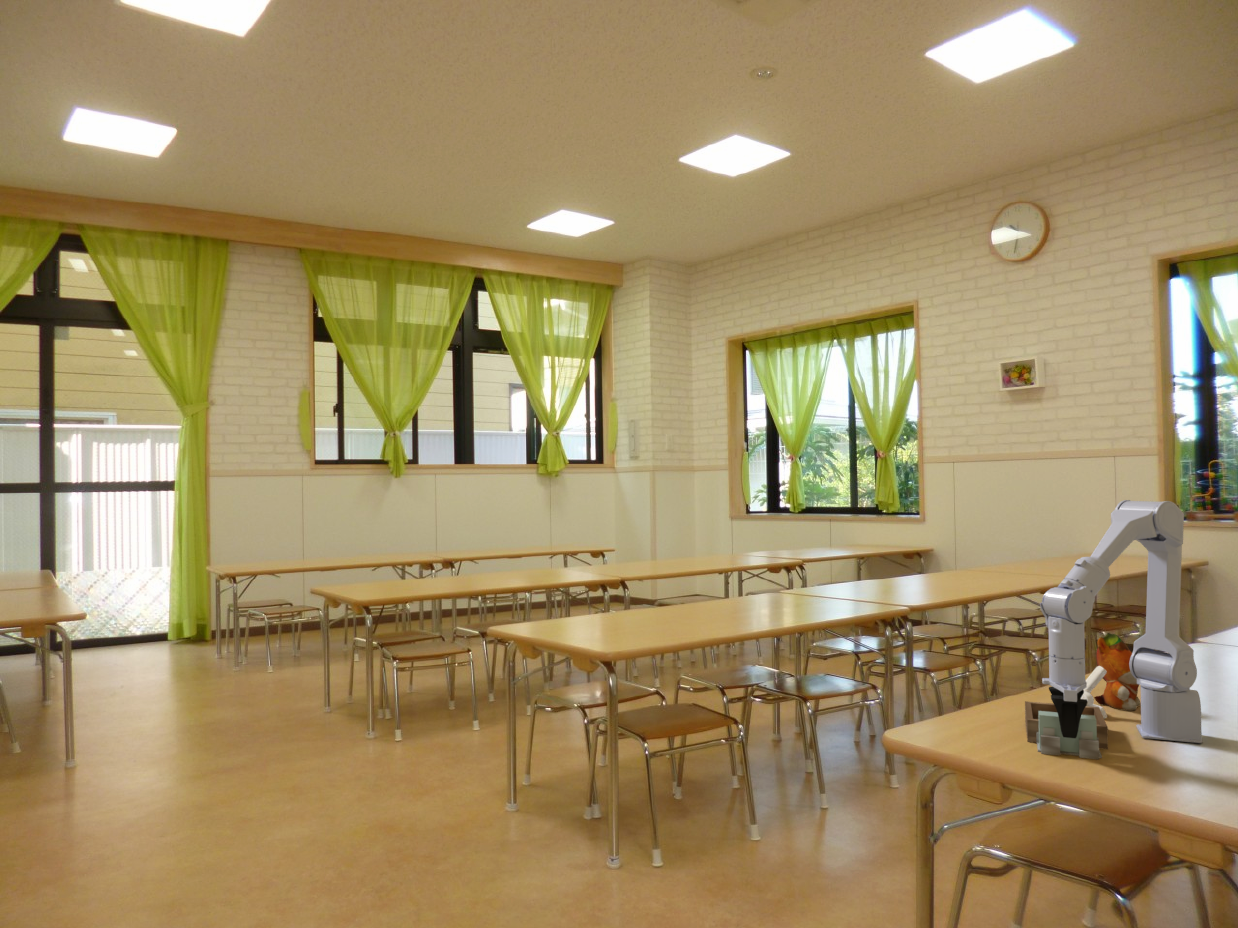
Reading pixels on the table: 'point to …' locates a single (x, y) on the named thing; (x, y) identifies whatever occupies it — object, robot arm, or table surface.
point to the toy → (1116, 674)
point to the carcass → (1053, 742)
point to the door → (1052, 728)
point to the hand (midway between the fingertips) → (1068, 732)
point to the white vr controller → (1091, 684)
